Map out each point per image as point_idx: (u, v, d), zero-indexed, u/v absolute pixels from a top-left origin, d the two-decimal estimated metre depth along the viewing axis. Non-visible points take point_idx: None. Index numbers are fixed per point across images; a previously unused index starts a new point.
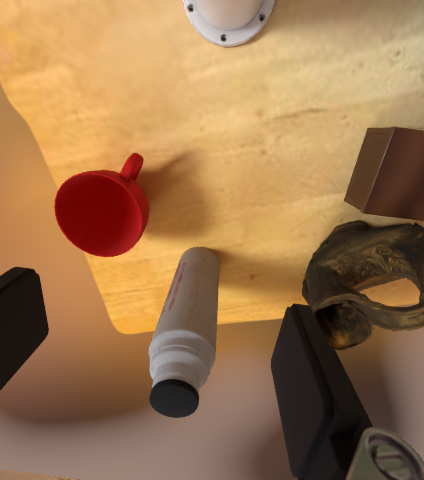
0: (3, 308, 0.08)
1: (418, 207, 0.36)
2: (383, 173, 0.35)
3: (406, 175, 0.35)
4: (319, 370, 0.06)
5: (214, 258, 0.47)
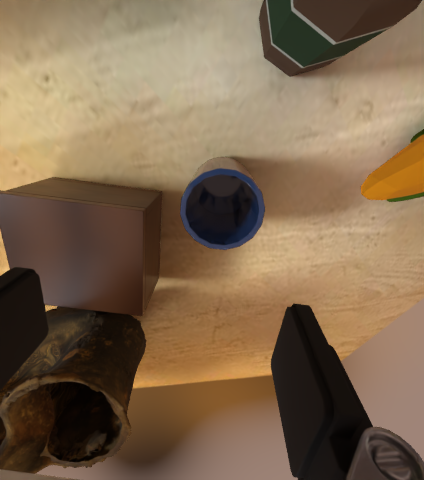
0: (3, 308, 0.08)
1: (86, 294, 0.26)
2: (14, 252, 0.24)
3: (46, 255, 0.24)
4: (319, 370, 0.06)
5: None
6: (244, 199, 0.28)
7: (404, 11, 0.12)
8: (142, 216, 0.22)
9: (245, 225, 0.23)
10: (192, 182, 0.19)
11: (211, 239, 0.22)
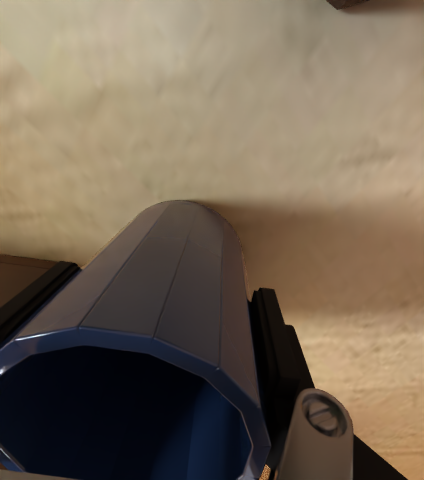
0: None
1: None
2: None
3: None
4: (270, 342, 0.07)
5: None
6: None
7: None
8: None
9: (217, 407, 0.08)
10: None
11: (113, 467, 0.08)
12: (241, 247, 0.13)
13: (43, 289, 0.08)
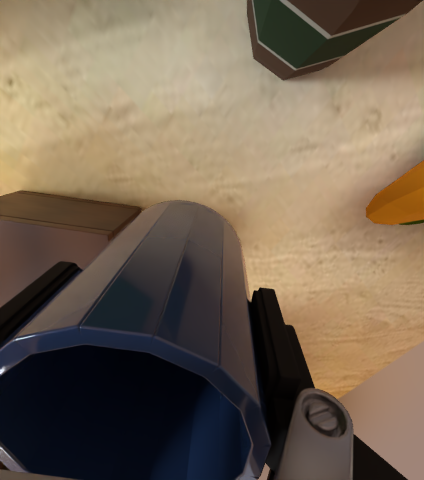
0: None
1: None
2: None
3: (2, 281, 0.21)
4: (270, 342, 0.07)
5: None
6: None
7: None
8: (107, 241, 0.19)
9: (217, 406, 0.09)
10: None
11: (114, 466, 0.08)
12: (241, 247, 0.13)
13: (43, 289, 0.08)
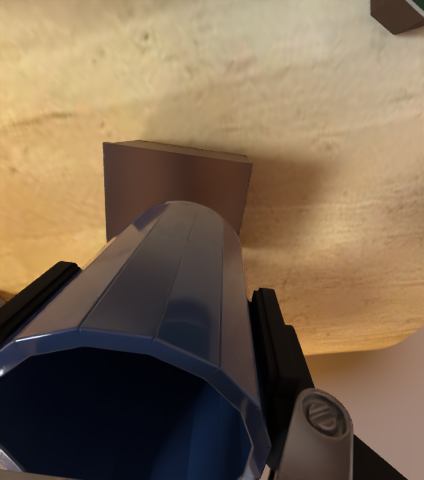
0: None
1: None
2: (113, 207, 0.24)
3: None
4: (270, 342, 0.07)
5: None
6: None
7: None
8: (250, 169, 0.22)
9: (217, 407, 0.08)
10: None
11: (113, 467, 0.08)
12: (241, 247, 0.13)
13: (43, 289, 0.08)
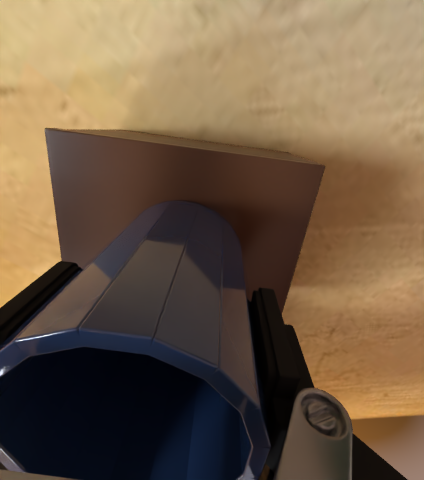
0: None
1: None
2: (73, 243, 0.14)
3: None
4: (270, 342, 0.07)
5: None
6: None
7: None
8: (320, 176, 0.12)
9: (217, 407, 0.09)
10: None
11: (113, 467, 0.08)
12: (241, 247, 0.13)
13: (43, 289, 0.08)
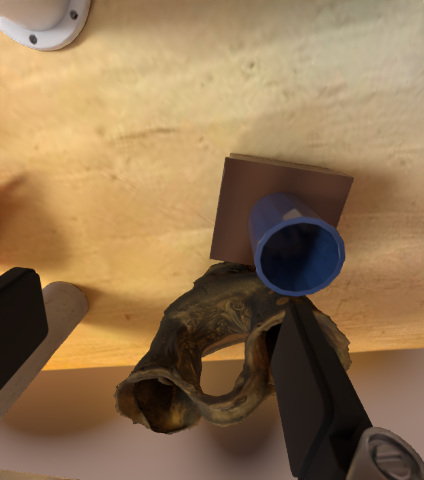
0: (3, 308, 0.08)
1: None
2: (224, 212, 0.28)
3: None
4: (319, 370, 0.06)
5: (73, 297, 0.40)
6: (301, 235, 0.27)
7: None
8: (351, 182, 0.26)
9: (314, 269, 0.22)
10: (272, 229, 0.19)
11: (280, 284, 0.21)
12: None
13: None
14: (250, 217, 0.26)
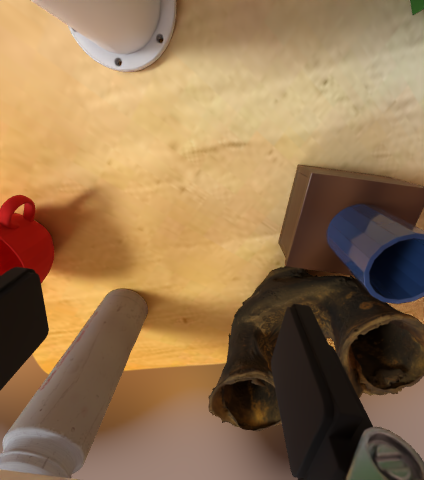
0: (3, 308, 0.08)
1: None
2: (304, 223, 0.29)
3: None
4: (319, 370, 0.06)
5: (137, 303, 0.42)
6: None
7: None
8: None
9: (408, 277, 0.24)
10: (385, 244, 0.20)
11: (380, 292, 0.23)
12: None
13: None
14: (334, 228, 0.28)
